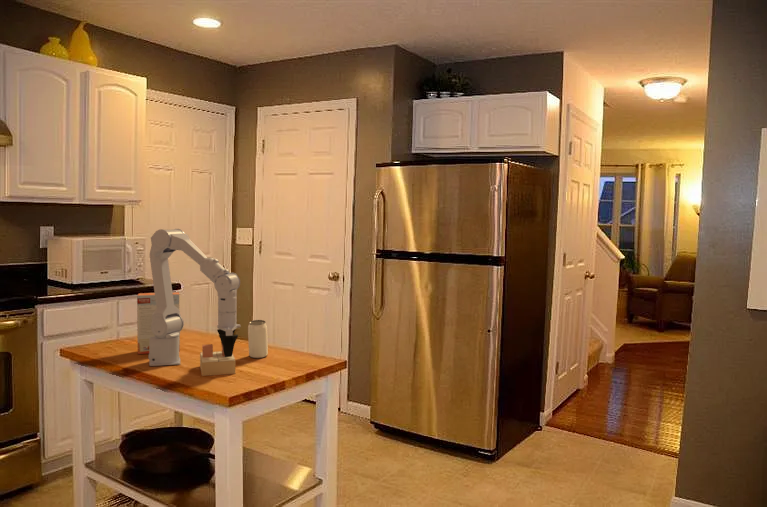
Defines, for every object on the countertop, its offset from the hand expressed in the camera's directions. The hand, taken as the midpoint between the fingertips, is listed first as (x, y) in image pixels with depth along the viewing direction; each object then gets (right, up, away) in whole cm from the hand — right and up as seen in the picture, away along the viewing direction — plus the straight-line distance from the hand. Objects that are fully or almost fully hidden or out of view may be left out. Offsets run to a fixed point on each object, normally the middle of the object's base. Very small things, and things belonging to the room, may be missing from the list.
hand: (227, 353), depth 194 cm
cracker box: (-30, -3, +22) cm, 37 cm away
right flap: (-1, -1, 0) cm, 1 cm away
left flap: (-5, -1, -2) cm, 6 cm away
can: (+6, -4, +18) cm, 20 cm away
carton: (-3, -5, -1) cm, 6 cm away
